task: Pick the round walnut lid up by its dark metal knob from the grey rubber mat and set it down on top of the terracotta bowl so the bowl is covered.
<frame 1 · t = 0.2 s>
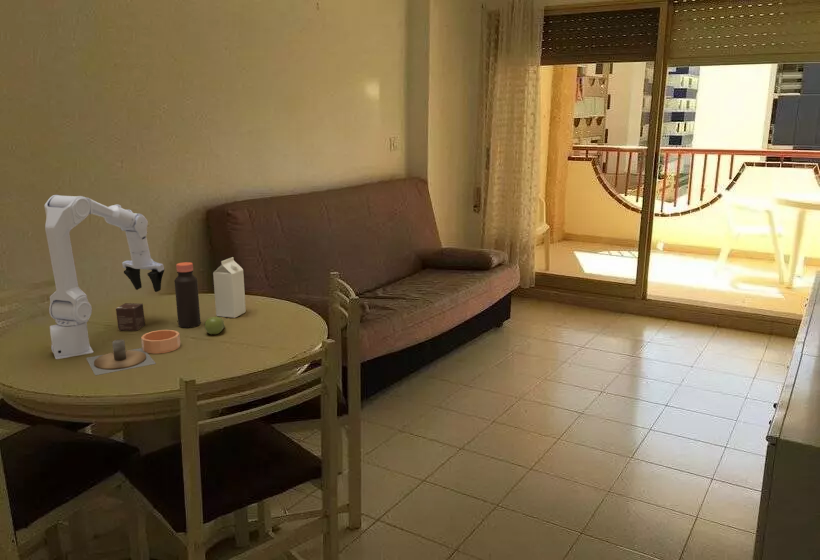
hand: (148, 289, 214), 11 cm above the table, tool pointing down, fingers open, 7 cm apart
milk carton: (231, 314, 224), on the table
bottle: (189, 325, 213), on the table
bowl: (161, 348, 191), on the table
box: (132, 328, 210), on the table
mat: (120, 362, 181), on the table
lid: (120, 360, 181), resting on mat
pear: (216, 332, 207), on the table
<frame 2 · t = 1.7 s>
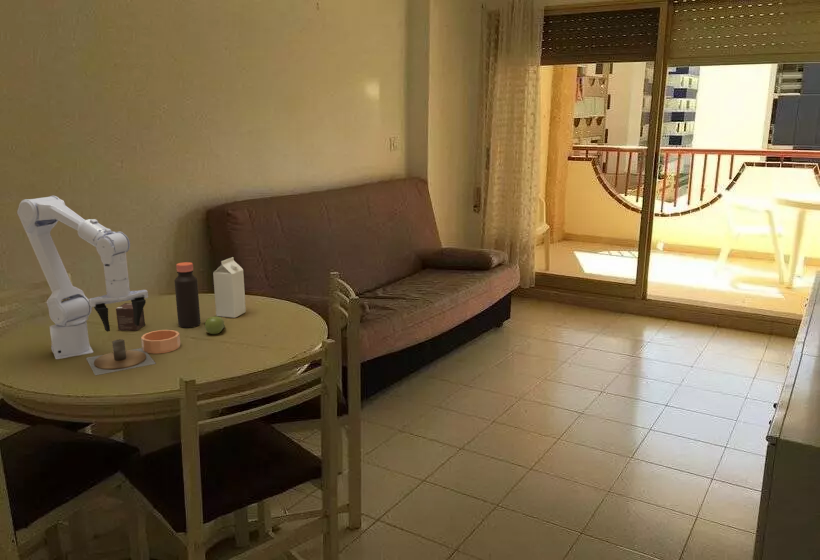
hand: (122, 327, 180), 9 cm above the table, tool pointing down, fingers open, 7 cm apart
nothing on the table moved.
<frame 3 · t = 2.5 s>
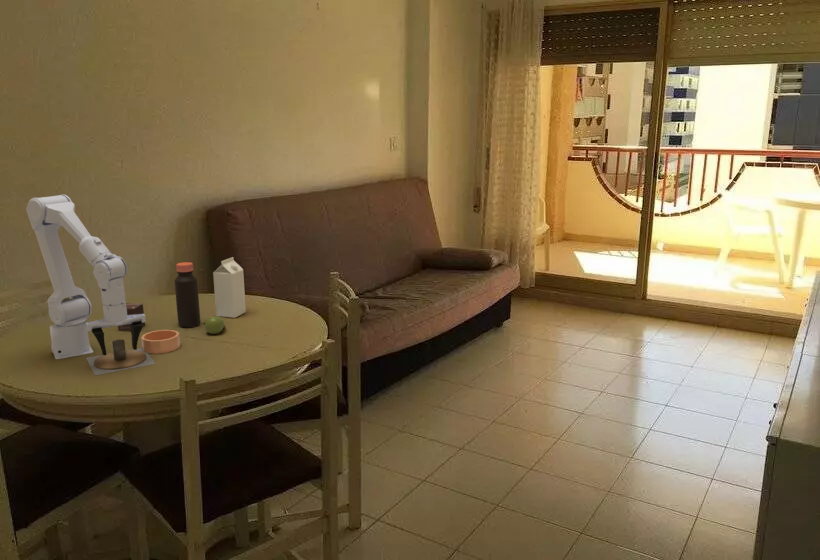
hand: (119, 351, 180), 3 cm above the table, tool pointing down, fingers open, 7 cm apart
nothing on the table moved.
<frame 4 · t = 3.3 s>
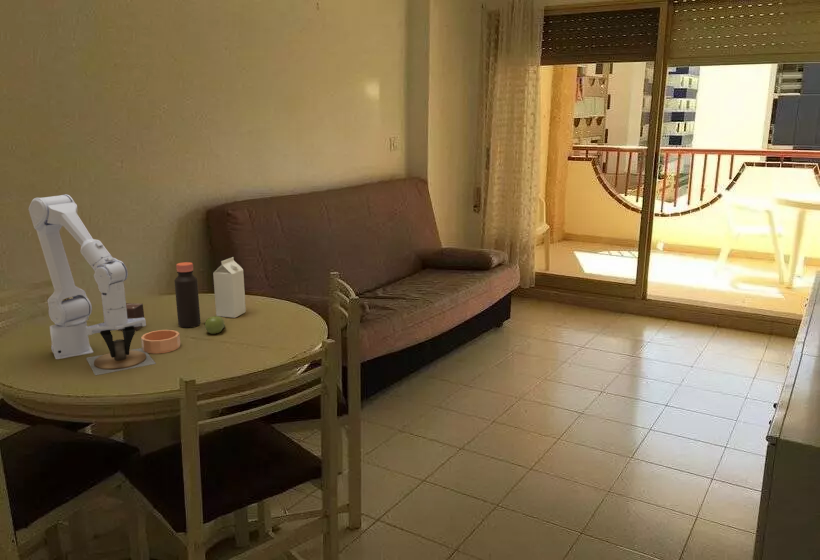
hand: (119, 355, 180), 2 cm above the table, tool pointing down, fingers closed on lid, 3 cm apart
lid: (120, 360, 181), resting on mat, touching gripper
everything else where it was.
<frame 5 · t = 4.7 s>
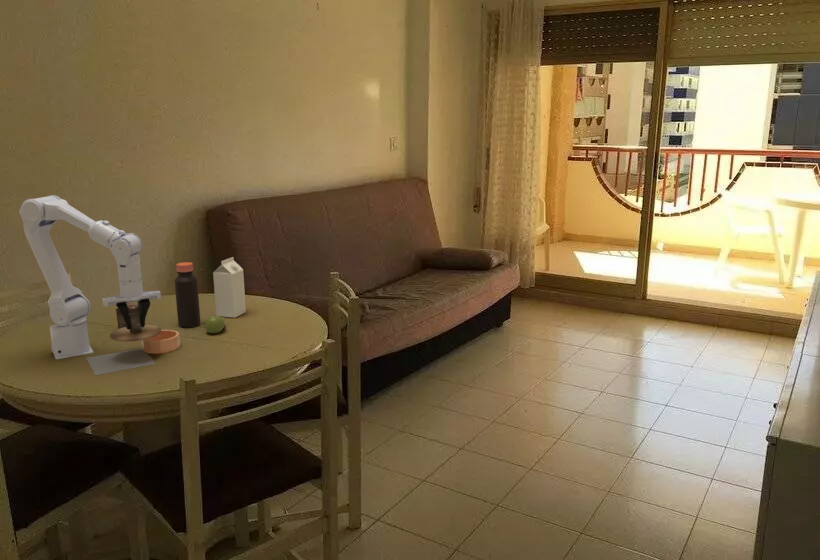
hand: (135, 327, 183), 8 cm above the table, tool pointing down, fingers closed on lid, 3 cm apart
lid: (136, 333, 184), point 7 cm above the table, touching gripper
everything else where it was.
when the fingers open (7 cm above the table, at t = 5.9 s): lid stays where it is, resting on bowl.
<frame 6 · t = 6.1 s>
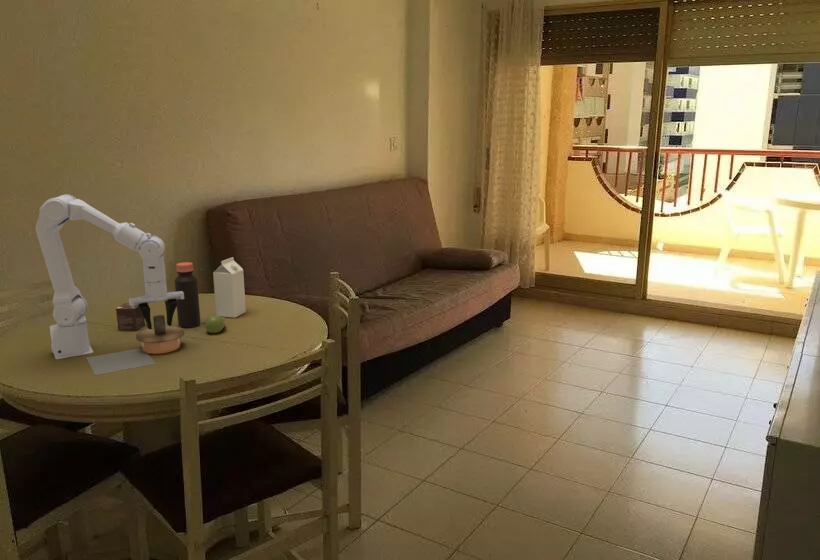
hand: (159, 326, 190), 7 cm above the table, tool pointing down, fingers open, 5 cm apart
lid: (160, 335, 190), point 4 cm above the table, touching bowl
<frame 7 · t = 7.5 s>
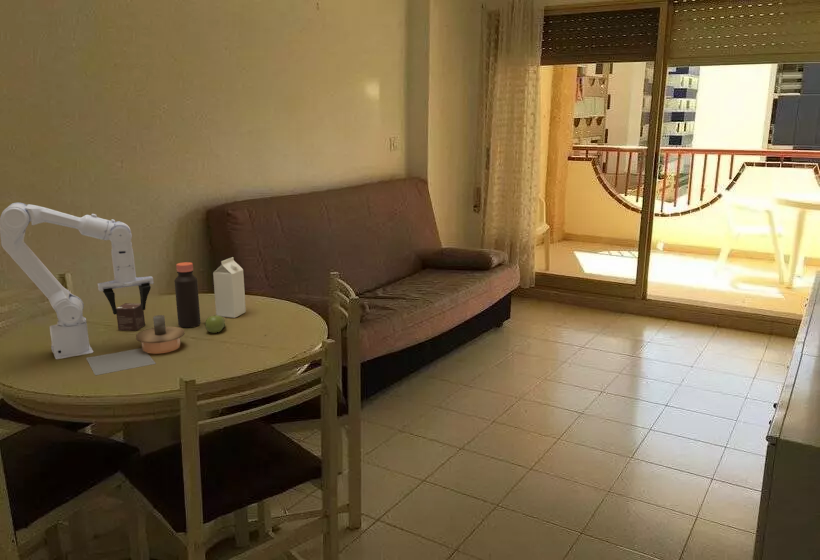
hand: (129, 311, 192), 10 cm above the table, tool pointing down, fingers open, 7 cm apart
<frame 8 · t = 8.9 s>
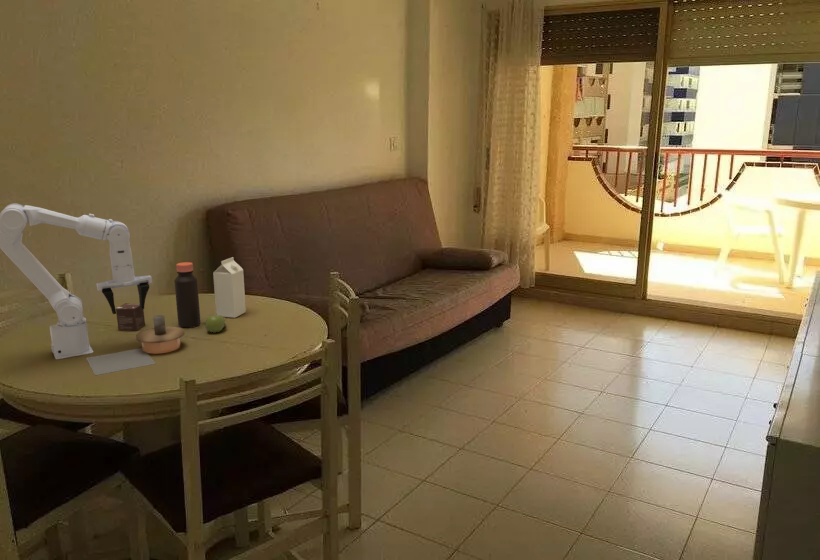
hand: (128, 310, 192), 10 cm above the table, tool pointing down, fingers open, 7 cm apart
at the end: lid 0.2 cm off-centre on the bowl, point 4.0 cm above the bowl's base; lid tilted 0°; the gripper is holding nothing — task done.
